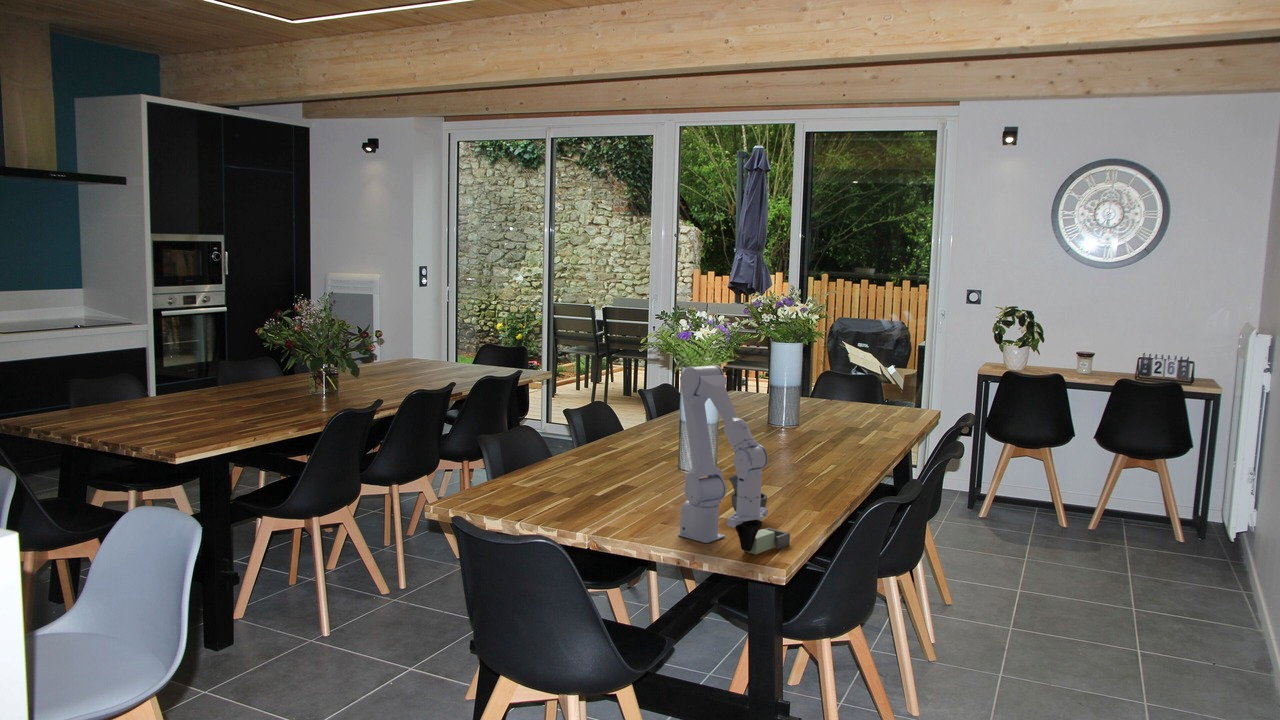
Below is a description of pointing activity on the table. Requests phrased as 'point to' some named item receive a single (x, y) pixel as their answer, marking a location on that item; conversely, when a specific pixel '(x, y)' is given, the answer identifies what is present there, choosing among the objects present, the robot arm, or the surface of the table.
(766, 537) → the rectangular block
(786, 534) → the dark grey piece
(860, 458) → the table surface
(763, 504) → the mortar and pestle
